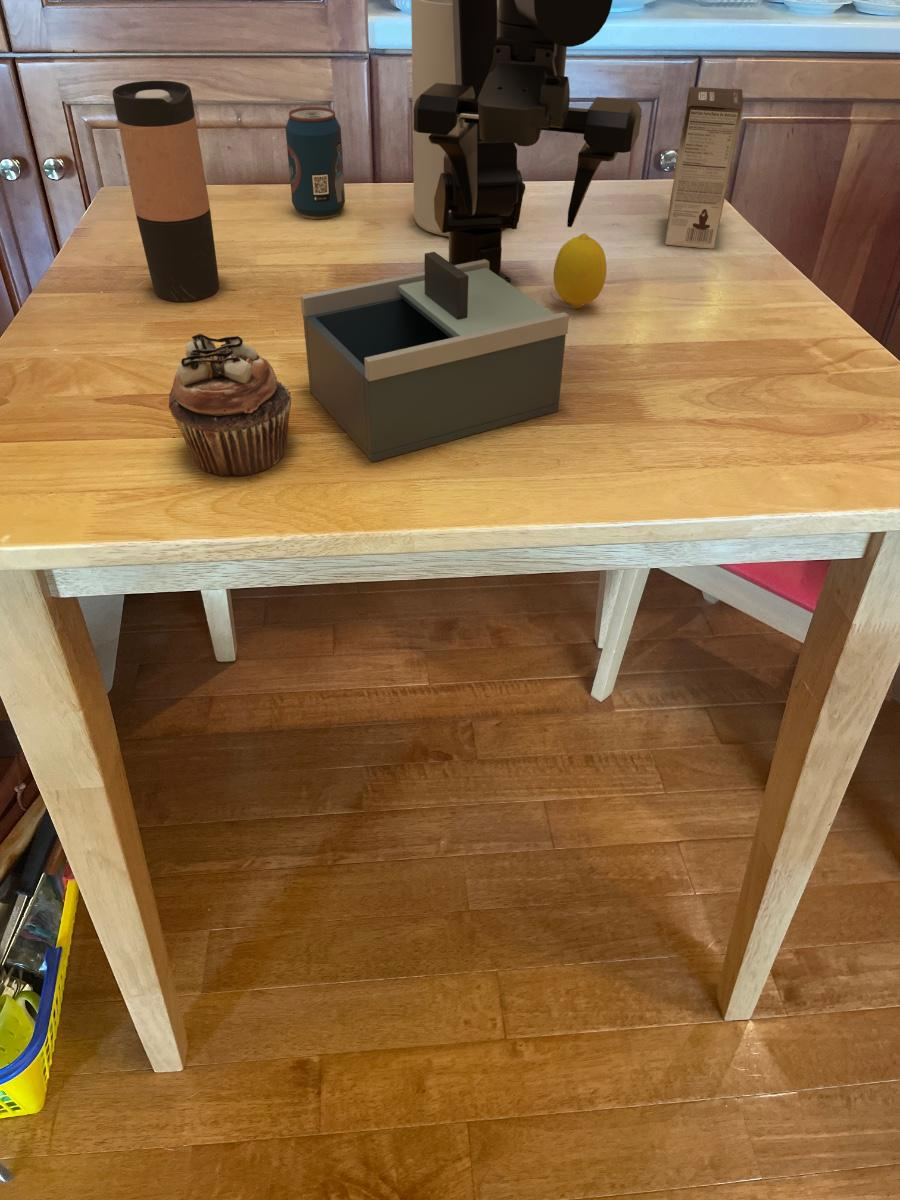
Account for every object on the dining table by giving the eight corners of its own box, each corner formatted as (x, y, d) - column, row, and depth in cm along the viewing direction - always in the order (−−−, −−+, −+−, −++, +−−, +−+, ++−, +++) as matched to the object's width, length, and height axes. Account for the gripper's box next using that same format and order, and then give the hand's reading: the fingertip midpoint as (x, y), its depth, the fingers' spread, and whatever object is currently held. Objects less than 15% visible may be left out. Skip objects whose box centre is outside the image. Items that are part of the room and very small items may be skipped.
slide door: (398, 291, 83) (396, 244, 80) (486, 273, 86) (488, 228, 84) (461, 343, 75) (462, 293, 73) (555, 321, 79) (559, 272, 76)
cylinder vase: (511, 240, 116) (524, 6, 99) (411, 239, 116) (408, 4, 99) (508, 207, 125) (519, -12, 109) (416, 205, 125) (413, -14, 109)
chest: (309, 391, 86) (300, 295, 80) (481, 350, 93) (485, 258, 87) (373, 463, 77) (368, 361, 71) (559, 412, 84) (569, 315, 78)
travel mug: (157, 276, 106) (118, 80, 93) (225, 275, 106) (196, 79, 93) (146, 304, 100) (103, 99, 87) (218, 302, 101) (186, 98, 87)
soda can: (290, 205, 125) (281, 106, 117) (341, 201, 126) (335, 104, 118) (296, 222, 120) (287, 121, 112) (349, 218, 121) (343, 118, 113)
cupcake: (301, 476, 75) (289, 362, 69) (179, 488, 74) (155, 373, 67) (291, 417, 82) (279, 309, 76) (180, 427, 81) (158, 318, 74)
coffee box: (665, 221, 122) (688, 84, 112) (715, 225, 121) (742, 88, 111) (663, 245, 115) (687, 103, 105) (716, 250, 114) (745, 107, 104)
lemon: (606, 302, 102) (615, 228, 97) (595, 322, 98) (604, 247, 93) (557, 295, 103) (564, 222, 98) (544, 314, 99) (551, 239, 94)
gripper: (389, 31, 70) (394, 238, 80) (636, 49, 66) (608, 265, 77) (433, 6, 78) (432, 198, 88) (654, 22, 74) (627, 220, 85)
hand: (520, 220), depth 84 cm, fingers open, 9 cm apart
